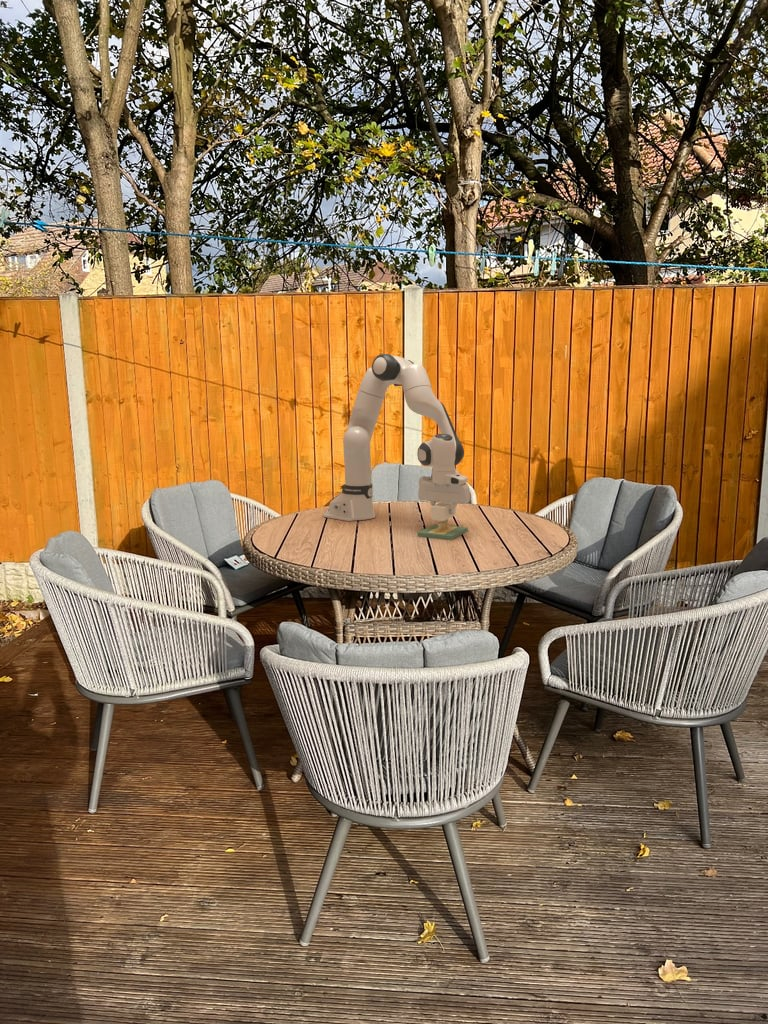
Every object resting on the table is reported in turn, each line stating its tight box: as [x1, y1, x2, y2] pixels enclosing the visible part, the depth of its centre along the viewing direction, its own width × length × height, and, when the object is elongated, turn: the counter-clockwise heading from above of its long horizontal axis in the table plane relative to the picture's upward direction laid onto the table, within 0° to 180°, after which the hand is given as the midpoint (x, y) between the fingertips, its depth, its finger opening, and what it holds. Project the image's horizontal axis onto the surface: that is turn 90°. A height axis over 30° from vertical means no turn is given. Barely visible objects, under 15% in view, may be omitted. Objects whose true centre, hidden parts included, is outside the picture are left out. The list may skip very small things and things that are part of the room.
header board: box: [416, 519, 469, 541], centre depth 291 cm, size 14×16×5 cm
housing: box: [430, 502, 457, 522], centre depth 290 cm, size 5×11×5 cm, turn 152°
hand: (443, 513), depth 290 cm, fingers closed on housing, 5 cm apart
